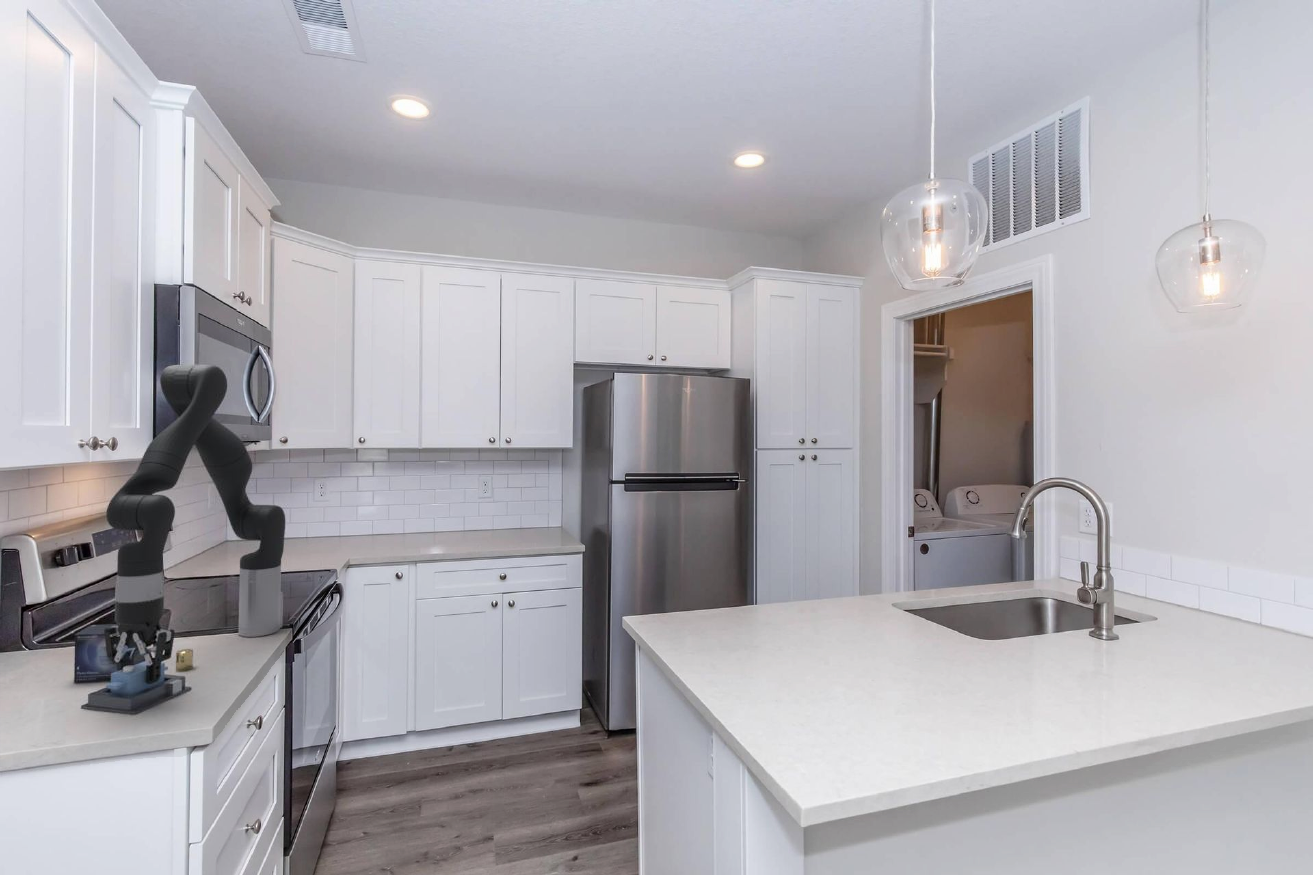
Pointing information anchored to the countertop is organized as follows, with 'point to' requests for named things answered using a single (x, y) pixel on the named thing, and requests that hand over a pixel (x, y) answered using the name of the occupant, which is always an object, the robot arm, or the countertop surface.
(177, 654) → the cylinder
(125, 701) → the frame
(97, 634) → the small box
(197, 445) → the robot arm
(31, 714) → the countertop surface
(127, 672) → the servo
